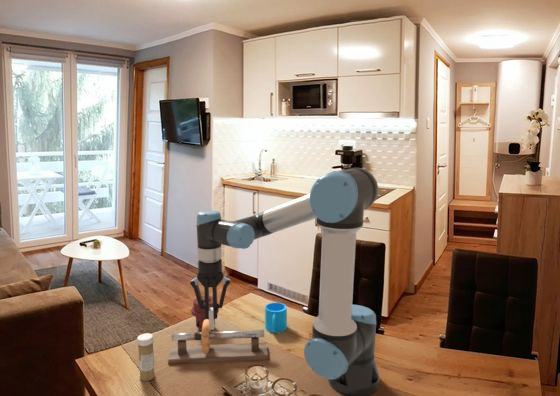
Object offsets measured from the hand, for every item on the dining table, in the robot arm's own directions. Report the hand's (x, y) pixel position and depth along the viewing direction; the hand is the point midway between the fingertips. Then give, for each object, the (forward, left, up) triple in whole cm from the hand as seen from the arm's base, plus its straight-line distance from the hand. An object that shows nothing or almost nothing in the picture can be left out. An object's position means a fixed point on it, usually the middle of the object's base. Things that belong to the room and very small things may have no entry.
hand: (211, 327), depth 142 cm
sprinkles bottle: (-11, +19, -10) cm, 24 cm away
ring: (0, +2, -7) cm, 7 cm away
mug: (+16, -22, -10) cm, 29 cm away
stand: (0, -2, -10) cm, 10 cm away
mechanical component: (+19, +4, -10) cm, 22 cm away
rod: (0, -2, -4) cm, 5 cm away
